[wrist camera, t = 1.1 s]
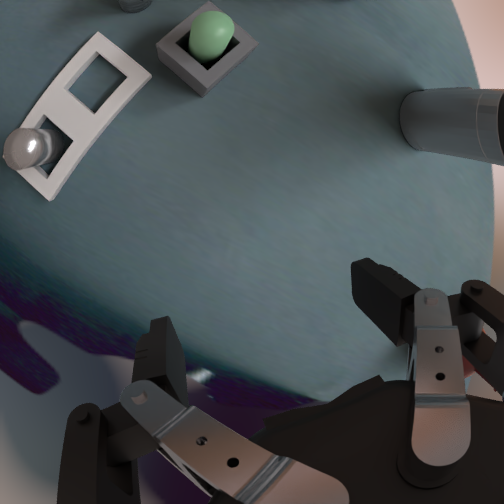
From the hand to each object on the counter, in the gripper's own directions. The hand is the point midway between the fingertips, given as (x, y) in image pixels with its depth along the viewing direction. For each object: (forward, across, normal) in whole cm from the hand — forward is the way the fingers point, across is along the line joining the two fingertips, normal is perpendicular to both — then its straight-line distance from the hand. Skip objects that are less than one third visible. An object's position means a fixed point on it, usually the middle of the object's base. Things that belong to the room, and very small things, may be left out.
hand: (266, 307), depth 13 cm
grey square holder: (+25, -3, -16) cm, 30 cm away
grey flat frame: (+24, +13, -14) cm, 31 cm away
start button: (+21, -3, -16) cm, 27 cm away
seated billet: (+24, +17, -12) cm, 32 cm away
